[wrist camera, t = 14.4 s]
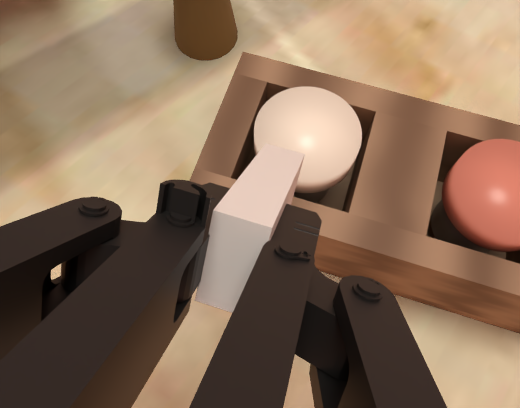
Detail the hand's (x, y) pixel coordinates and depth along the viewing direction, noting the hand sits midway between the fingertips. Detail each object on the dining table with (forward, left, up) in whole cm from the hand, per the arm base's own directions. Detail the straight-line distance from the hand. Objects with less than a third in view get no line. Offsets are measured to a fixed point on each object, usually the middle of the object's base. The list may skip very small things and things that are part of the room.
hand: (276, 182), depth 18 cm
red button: (-2, +15, -17) cm, 23 cm away
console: (-5, +9, -20) cm, 23 cm away
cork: (-25, -3, -20) cm, 33 cm away
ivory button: (-8, +4, -17) cm, 20 cm away
